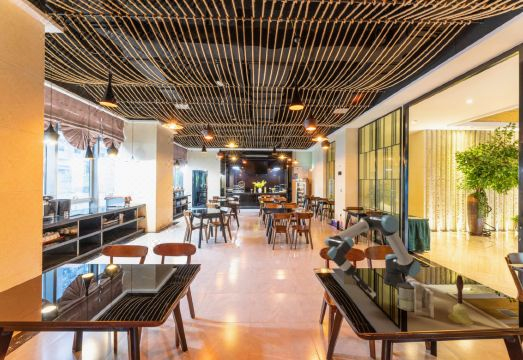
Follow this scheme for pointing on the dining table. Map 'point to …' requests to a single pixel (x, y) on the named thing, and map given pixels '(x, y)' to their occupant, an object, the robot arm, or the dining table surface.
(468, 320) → the handbell
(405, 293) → the coffee can
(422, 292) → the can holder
